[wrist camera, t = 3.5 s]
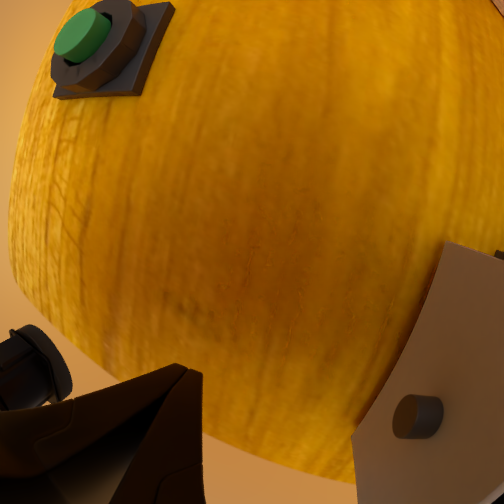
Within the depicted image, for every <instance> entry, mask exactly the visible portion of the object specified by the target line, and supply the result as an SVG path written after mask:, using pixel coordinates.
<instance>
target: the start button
mask: <svg viewBox="0 0 504 504" xmlns="http://www.w3.org/2000/svg"><path fill="white" fill-rule="evenodd" d="M110 30H111V23H110V21H109V20H108V19H107V18H105V17H104V16H103V15H101V14H100V13H99V12H97V11H96V10H94V9H92V8H88V9H84V10H82V11H80V12H78V13H77V14H76V15H74V16H73V17H72V18H71V19H70V20H69V21H68V22H67V23H66V24H65V25H64V27H63V28H62V29H61V31H60V32H59V34H58V36H57V38H56V41H55V44H54V51H55V53H56V54H57V55H58V56H61V57H63V58H65V59H67V60H70V61H72V62H74V63H81V62H83V61H85V60H87V59H88V58H90V57H91V56H92V55H94V53H95V52H96V51H97V50H98V49H99V47H100V46H101V45H102V44H103V43H104V41H105V40H106V38H107V36H108V34H109V32H110Z"/></svg>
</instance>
